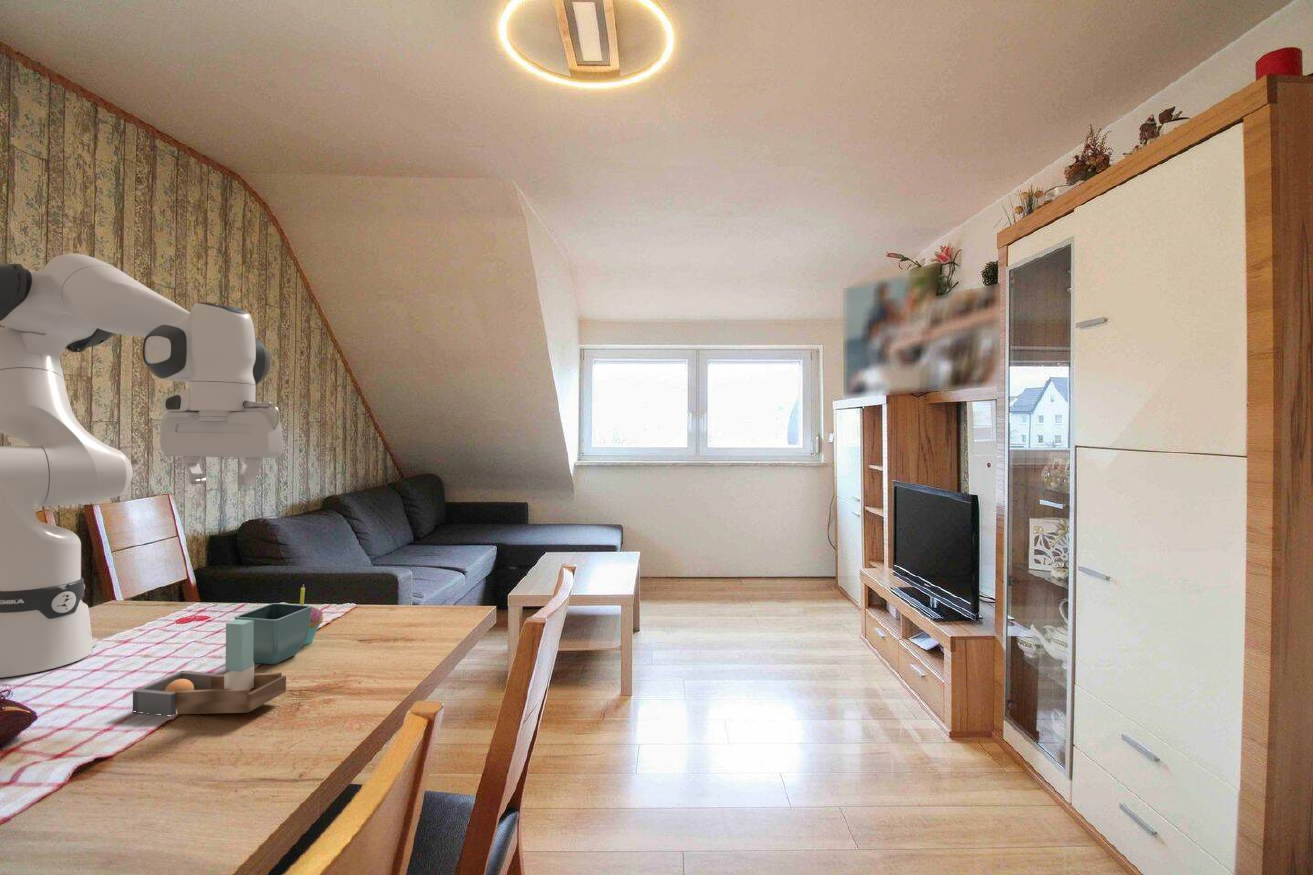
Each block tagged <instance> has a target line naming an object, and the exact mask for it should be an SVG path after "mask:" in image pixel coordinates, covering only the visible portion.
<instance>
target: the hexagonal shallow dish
mask: <svg viewBox="0 0 1313 875" xmlns="http://www.w3.org/2000/svg"><path fill="white" fill-rule="evenodd" d="M211 687H212V689H210V690H180V691H178V692H175V695H176V714H177V715H195V714H200V715H201V714H202V715H203V714H240V713H241V714H243V713H250V712H252V711H253V710H256V709H257V708H259V707H261V706H262V705H264V704H266V703H268V702H270V701H272V700H273V699H275V698H277V697H279V696H281V695H283V694H284V693H286V692H287V691H286V690H287V675H283V674H282V672H264V673H263V672H262V673H261V672H260V673H259V672H256V673H255V672H254V687H253V688H251V689H250V688H242V689H224V674H218V675H213V676H211Z"/></svg>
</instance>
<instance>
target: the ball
mask: <svg viewBox="0 0 1313 875" xmlns="http://www.w3.org/2000/svg"><path fill="white" fill-rule="evenodd" d="M180 690H194V685H193V683H192V682H191V681H189V680H187V679H178V680H175V681H173V682H171V683H170V684H169V685H168V686H167V687H166V689H165V691H168V692H178V691H180Z"/></svg>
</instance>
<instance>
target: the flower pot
mask: <svg viewBox="0 0 1313 875" xmlns="http://www.w3.org/2000/svg"><path fill="white" fill-rule="evenodd" d="M312 607H313V606H312V605H300V604H289V603H278V602H274V603H270V604H266V605H264V606H262V607H261V606H260V607H258V608H256V609H253V610H250V611H247V612H244V613H241V614H239V615H236V616H235V617H234V620H237V619H241V620H254V644H253V663H254V664H255V663H256V664H264V665H265V664H267V665H277V664H279V663H281V662H283V661H285V660H288V659H289V658H292V657H293V656H296V655H297V654H298V652H299V651H300V649H302V648H301V647H302V646H304V645H303V643H304V641H305V639H306V637H307V634H308V630H309V624H310V618H311V611H312Z"/></svg>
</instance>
